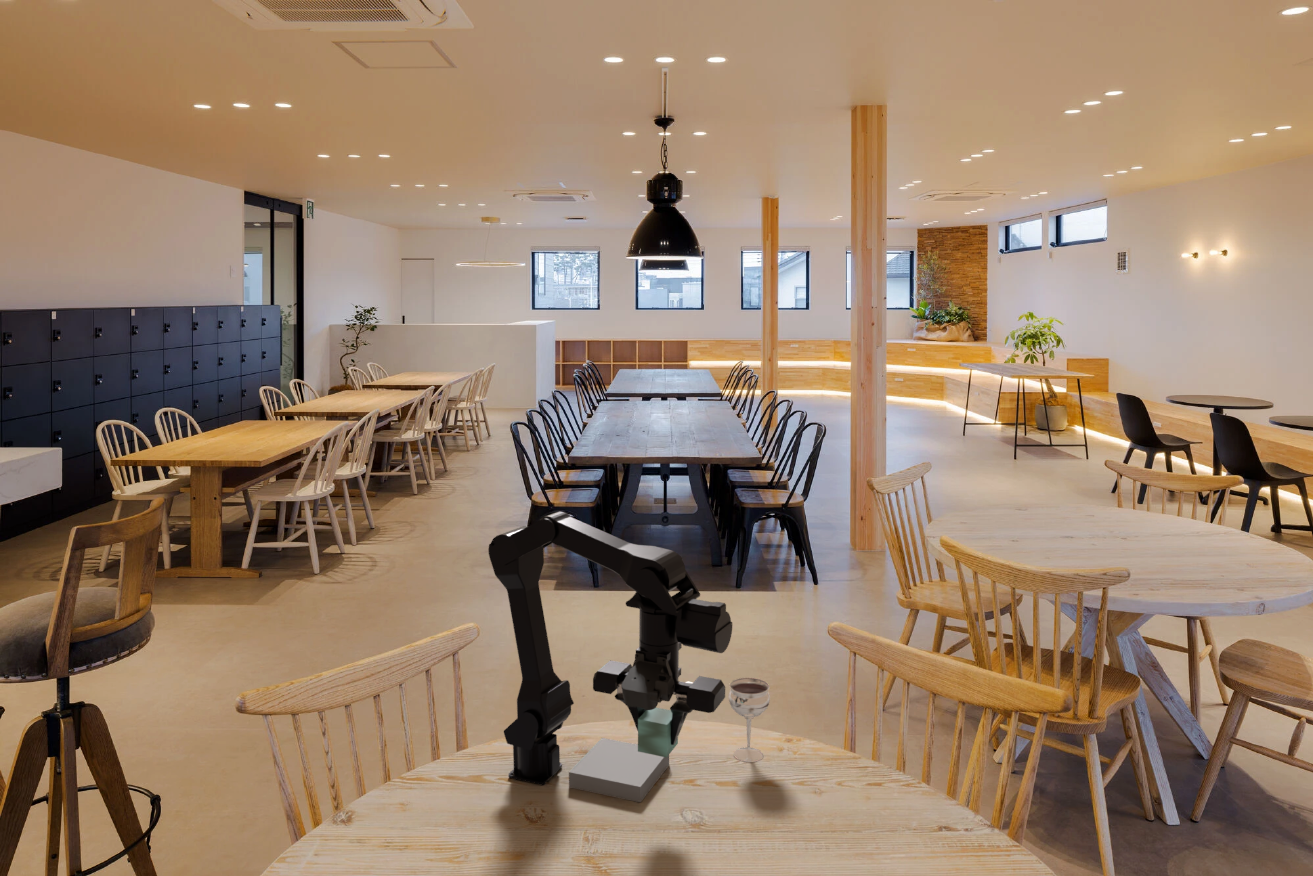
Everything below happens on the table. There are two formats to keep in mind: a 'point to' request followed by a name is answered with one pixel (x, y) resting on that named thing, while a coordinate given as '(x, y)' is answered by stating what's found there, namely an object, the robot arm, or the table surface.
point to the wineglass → (749, 709)
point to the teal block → (655, 732)
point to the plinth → (617, 770)
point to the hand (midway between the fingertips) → (657, 740)
